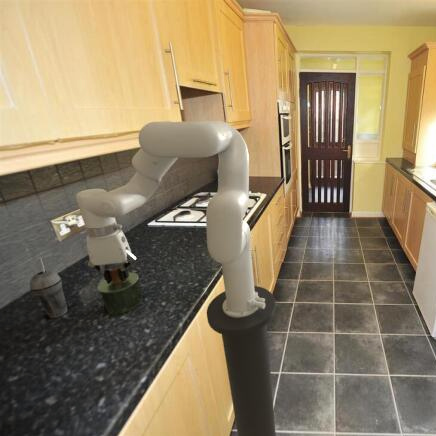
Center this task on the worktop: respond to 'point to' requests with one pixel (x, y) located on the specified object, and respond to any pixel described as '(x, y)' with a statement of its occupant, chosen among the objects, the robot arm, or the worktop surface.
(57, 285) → the beverage cup
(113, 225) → the robot arm
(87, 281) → the worktop surface
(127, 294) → the tin
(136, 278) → the lid
